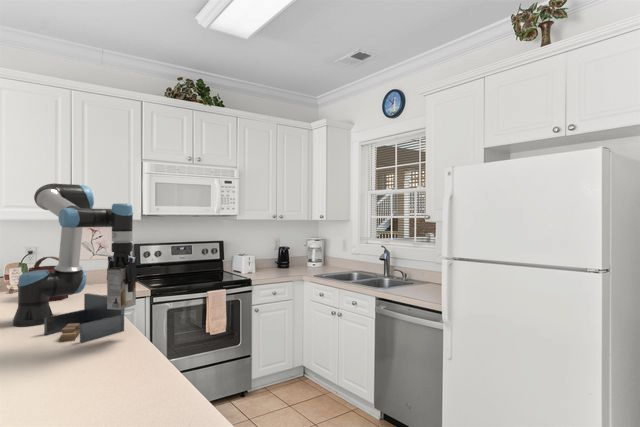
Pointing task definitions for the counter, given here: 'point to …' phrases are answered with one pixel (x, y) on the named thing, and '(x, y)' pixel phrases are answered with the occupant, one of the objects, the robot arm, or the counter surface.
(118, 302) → the coffee box
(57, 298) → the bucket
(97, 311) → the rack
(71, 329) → the offcut stack
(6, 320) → the counter surface
